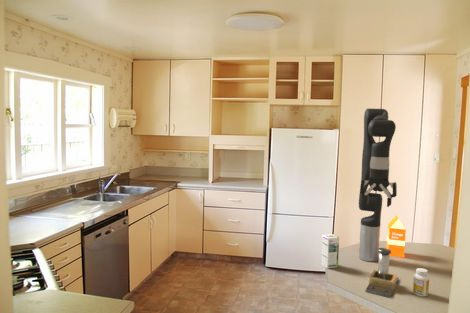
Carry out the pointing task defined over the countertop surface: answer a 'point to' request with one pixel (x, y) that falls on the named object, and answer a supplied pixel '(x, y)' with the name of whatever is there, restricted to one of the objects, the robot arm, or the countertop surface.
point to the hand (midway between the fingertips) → (377, 205)
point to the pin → (383, 263)
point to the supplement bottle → (421, 282)
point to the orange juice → (396, 237)
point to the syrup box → (330, 251)
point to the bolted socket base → (381, 284)
